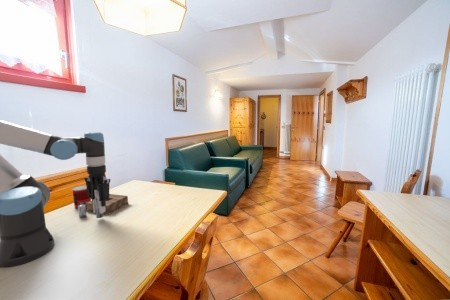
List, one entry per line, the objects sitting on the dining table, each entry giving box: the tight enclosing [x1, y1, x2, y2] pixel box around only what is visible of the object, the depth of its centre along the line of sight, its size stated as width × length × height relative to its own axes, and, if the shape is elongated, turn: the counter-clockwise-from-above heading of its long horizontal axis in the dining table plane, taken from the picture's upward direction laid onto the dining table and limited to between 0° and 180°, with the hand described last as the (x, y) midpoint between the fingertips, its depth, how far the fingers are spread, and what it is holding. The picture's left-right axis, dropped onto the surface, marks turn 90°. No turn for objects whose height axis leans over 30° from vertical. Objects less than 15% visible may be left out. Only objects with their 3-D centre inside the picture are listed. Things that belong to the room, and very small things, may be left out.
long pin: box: [94, 189, 104, 219], centre depth 95 cm, size 3×3×14 cm
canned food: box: [72, 185, 92, 210], centre depth 112 cm, size 8×8×11 cm
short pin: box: [77, 204, 87, 219], centre depth 99 cm, size 3×3×6 cm
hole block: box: [86, 193, 129, 216], centre depth 110 cm, size 14×14×5 cm
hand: (99, 211), depth 96 cm, fingers closed on long pin, 3 cm apart
